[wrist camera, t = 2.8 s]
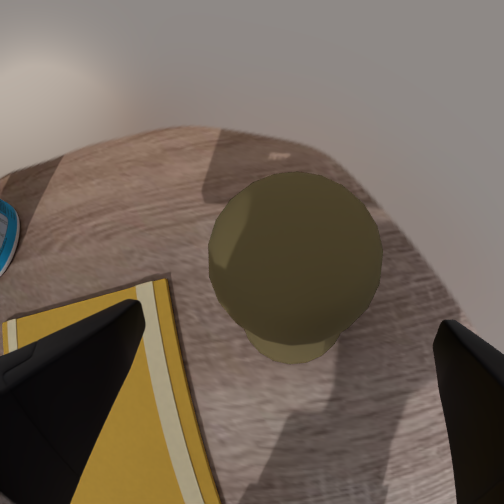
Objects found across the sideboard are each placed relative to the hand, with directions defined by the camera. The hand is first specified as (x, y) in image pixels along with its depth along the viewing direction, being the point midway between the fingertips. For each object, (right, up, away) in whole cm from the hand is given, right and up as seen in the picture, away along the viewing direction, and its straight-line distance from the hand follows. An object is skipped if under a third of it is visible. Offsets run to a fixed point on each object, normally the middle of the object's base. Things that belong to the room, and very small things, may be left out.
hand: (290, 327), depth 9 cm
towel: (-12, -11, +8) cm, 18 cm away
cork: (+1, -1, +10) cm, 10 cm away
